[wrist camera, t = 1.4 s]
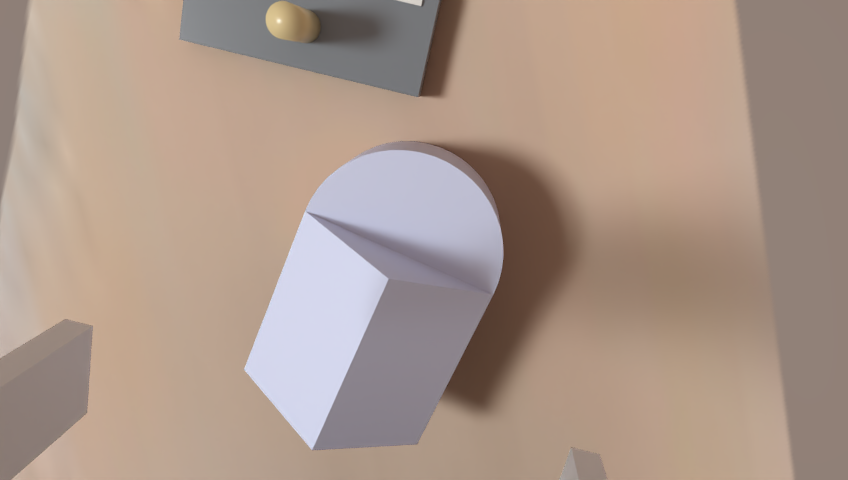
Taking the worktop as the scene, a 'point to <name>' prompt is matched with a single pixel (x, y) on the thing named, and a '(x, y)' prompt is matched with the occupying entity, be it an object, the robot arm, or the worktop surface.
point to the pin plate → (323, 36)
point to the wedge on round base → (379, 297)
